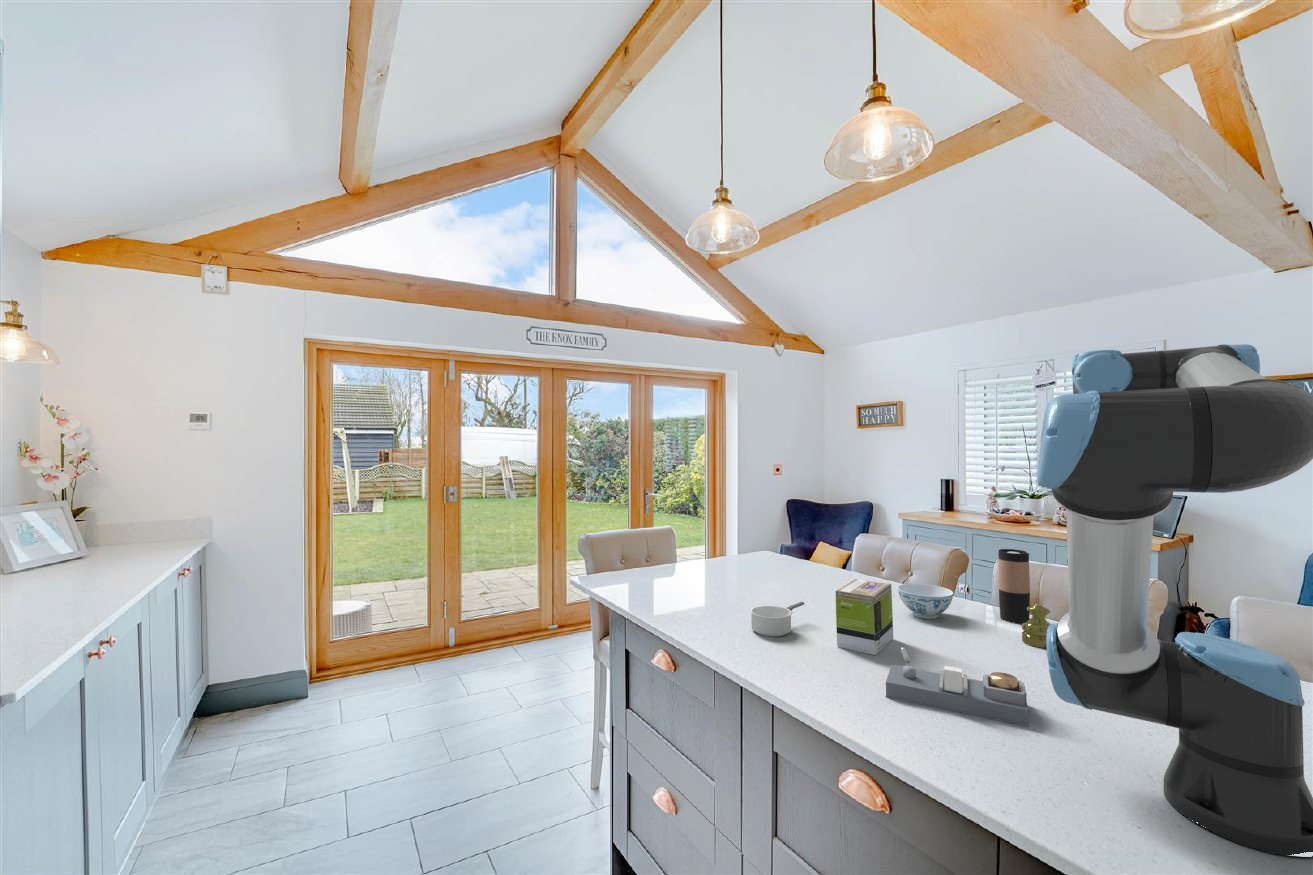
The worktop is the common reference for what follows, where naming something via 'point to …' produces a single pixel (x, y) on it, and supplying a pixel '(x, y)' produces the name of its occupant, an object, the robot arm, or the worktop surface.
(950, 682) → the white slider block
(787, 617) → the saucepan
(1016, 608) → the travel mug
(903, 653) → the toggle lever
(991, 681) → the push button
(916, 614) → the chinaware
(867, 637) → the tea box
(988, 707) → the control panel
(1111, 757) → the worktop surface
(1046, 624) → the gold chess piece
